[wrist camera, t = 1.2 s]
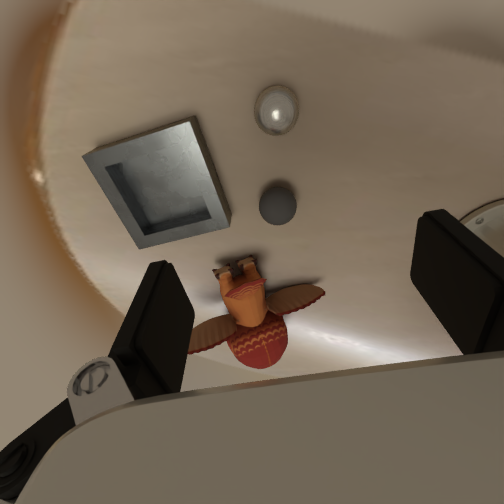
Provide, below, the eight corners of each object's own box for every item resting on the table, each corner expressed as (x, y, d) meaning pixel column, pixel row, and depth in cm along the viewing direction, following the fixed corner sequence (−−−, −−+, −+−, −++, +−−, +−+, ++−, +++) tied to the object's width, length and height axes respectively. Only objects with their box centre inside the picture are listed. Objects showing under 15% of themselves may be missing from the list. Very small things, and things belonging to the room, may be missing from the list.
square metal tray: (195, 115, 28) (189, 121, 25) (231, 214, 33) (229, 227, 31) (96, 147, 29) (81, 156, 27) (147, 235, 35) (139, 249, 33)
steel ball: (291, 77, 26) (296, 80, 22) (300, 123, 28) (305, 133, 24) (249, 91, 26) (247, 96, 23) (260, 135, 28) (260, 146, 25)
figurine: (156, 281, 37) (195, 369, 43) (154, 312, 29) (203, 416, 34) (291, 231, 41) (312, 317, 46) (322, 246, 33) (344, 349, 38)
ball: (290, 177, 31) (294, 192, 28) (297, 209, 33) (302, 227, 30) (254, 187, 32) (254, 202, 28) (264, 218, 34) (264, 235, 30)
